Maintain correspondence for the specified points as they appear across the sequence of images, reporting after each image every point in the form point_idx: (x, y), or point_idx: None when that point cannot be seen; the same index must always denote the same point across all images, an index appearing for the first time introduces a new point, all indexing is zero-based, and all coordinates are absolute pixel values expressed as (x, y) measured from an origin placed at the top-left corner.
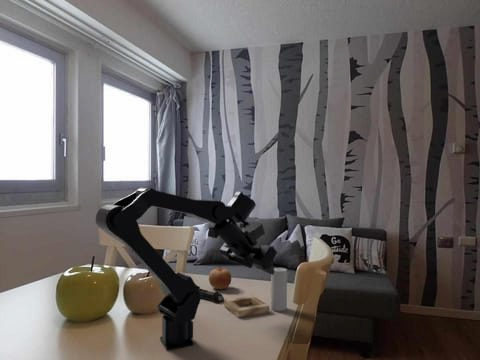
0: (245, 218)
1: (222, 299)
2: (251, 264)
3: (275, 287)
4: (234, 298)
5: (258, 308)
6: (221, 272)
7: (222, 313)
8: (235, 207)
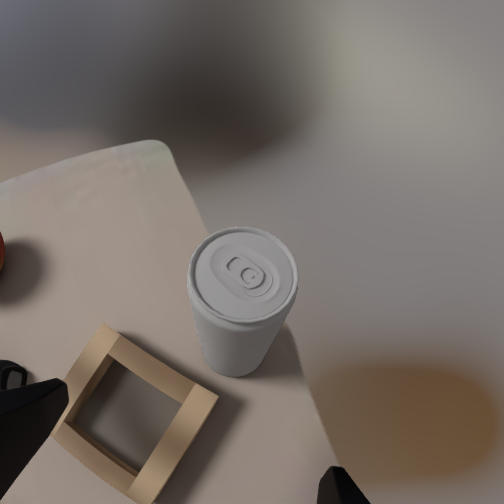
0: None
1: (21, 375)
2: (57, 394)
3: (240, 356)
4: None
5: (192, 439)
6: None
7: (82, 486)
8: None
